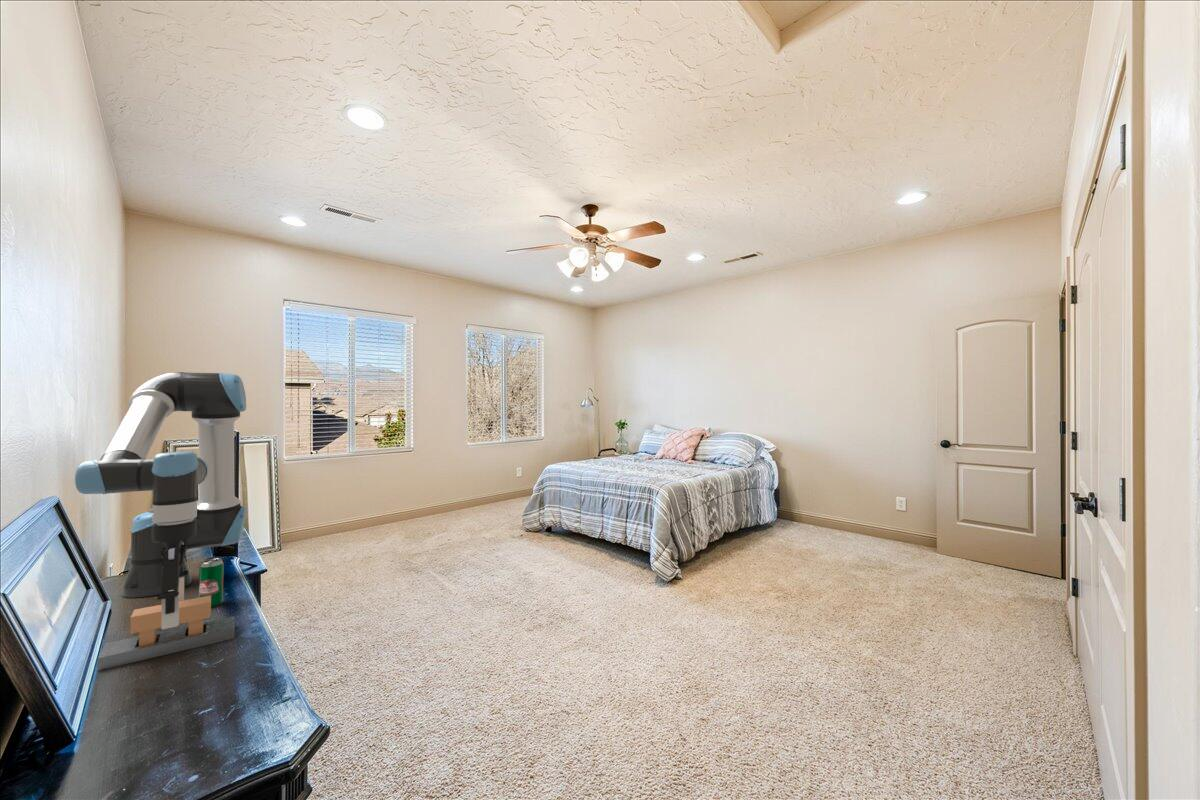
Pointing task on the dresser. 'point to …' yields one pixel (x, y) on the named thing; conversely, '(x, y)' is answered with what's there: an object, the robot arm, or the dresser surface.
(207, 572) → the soda can
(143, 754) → the dresser surface
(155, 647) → the rail
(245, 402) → the robot arm
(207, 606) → the wooden arch block
